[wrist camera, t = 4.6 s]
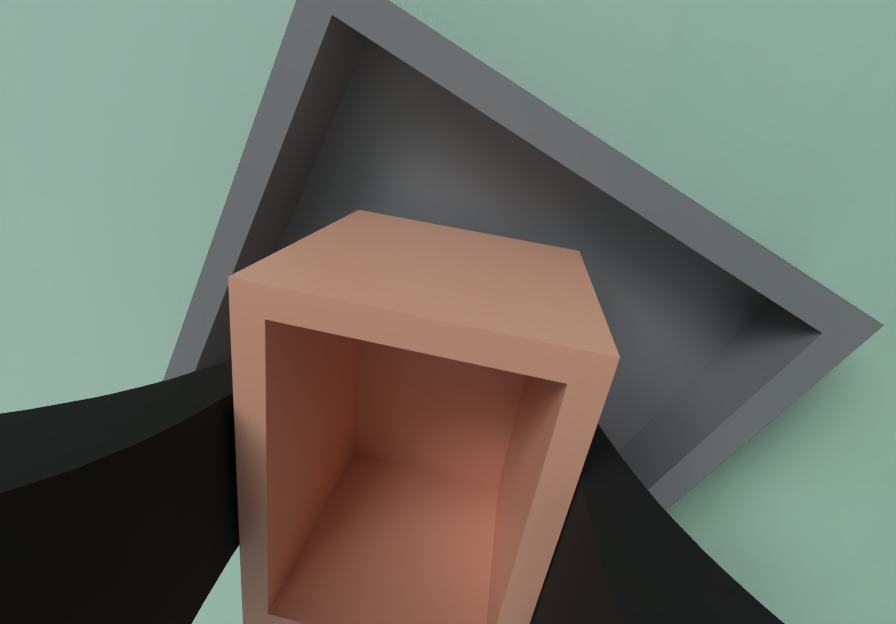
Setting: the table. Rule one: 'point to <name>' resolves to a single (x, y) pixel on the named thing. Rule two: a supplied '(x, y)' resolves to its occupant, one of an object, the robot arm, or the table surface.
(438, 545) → the small crate
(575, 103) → the table surface
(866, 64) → the table surface
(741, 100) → the table surface
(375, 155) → the big crate
